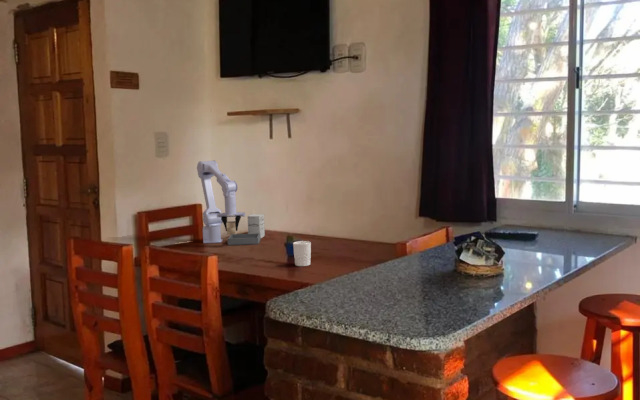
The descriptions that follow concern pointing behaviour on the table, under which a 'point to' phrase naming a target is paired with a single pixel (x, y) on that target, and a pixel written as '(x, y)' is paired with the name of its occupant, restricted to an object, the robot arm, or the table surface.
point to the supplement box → (256, 224)
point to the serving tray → (244, 239)
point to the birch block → (231, 227)
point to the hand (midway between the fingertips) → (231, 230)
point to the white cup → (302, 253)
